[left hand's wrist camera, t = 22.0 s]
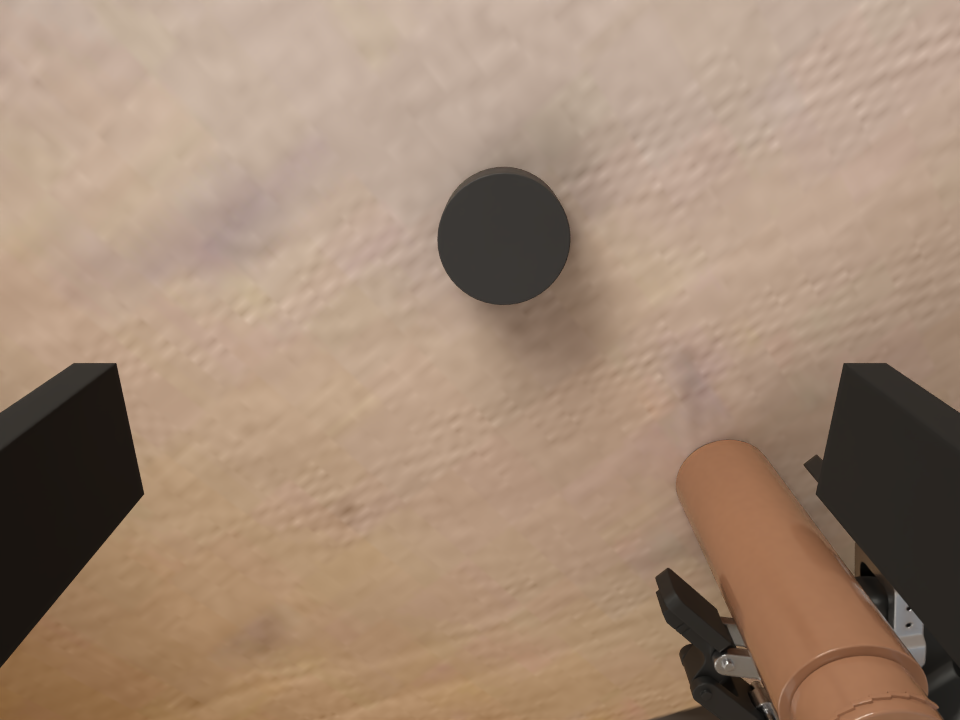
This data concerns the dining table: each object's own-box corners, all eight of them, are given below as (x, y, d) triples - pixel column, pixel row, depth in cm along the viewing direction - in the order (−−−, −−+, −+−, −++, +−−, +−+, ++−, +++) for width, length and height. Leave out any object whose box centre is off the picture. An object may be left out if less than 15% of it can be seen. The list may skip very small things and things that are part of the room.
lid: (434, 280, 32) (429, 294, 30) (450, 157, 30) (446, 163, 28) (552, 298, 32) (556, 313, 30) (575, 177, 30) (582, 184, 28)
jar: (736, 421, 34) (922, 674, 19) (789, 485, 35) (1000, 768, 21) (657, 476, 35) (773, 754, 21) (710, 536, 37) (857, 837, 22)
